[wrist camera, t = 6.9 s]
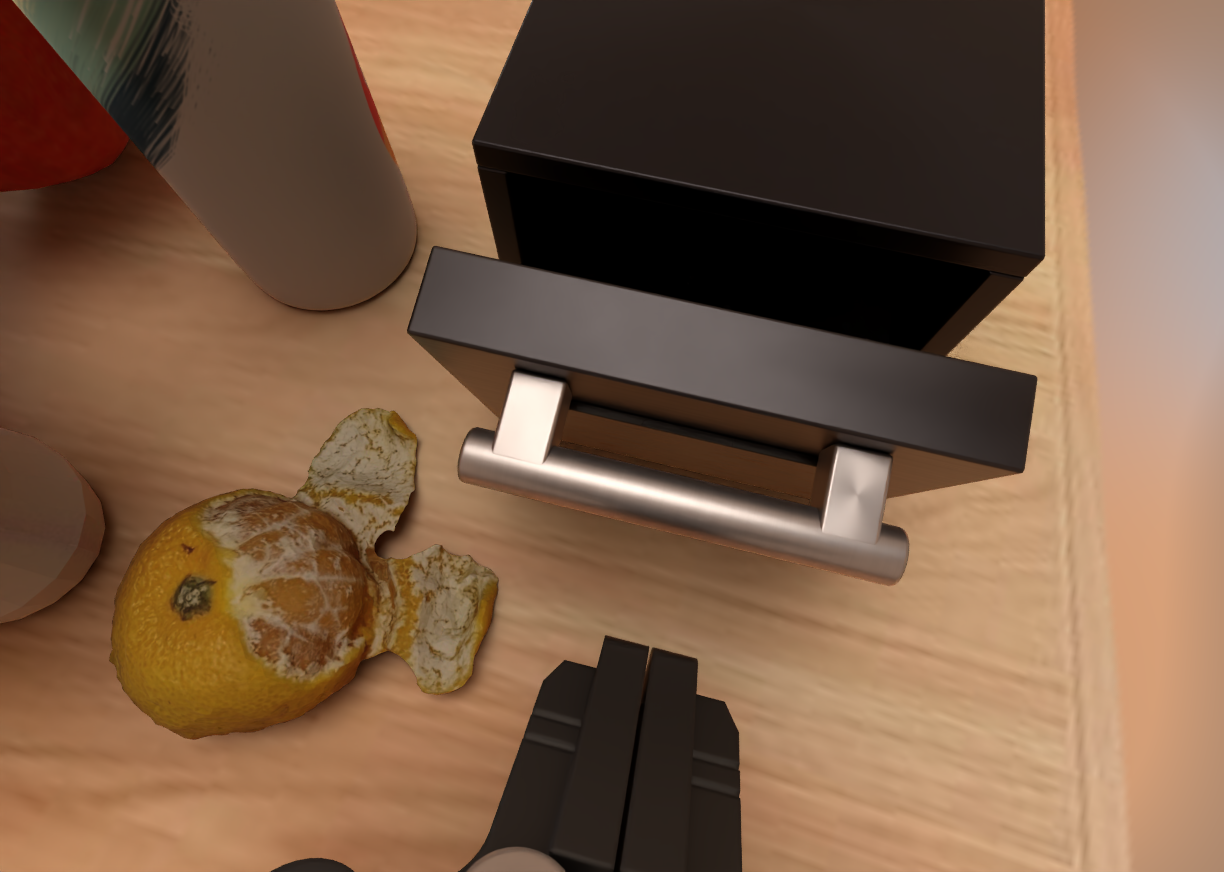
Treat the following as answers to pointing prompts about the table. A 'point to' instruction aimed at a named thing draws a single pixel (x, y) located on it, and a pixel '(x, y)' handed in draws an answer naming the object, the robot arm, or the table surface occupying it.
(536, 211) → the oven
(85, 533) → the decorative mushroom
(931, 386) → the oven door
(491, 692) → the table surface
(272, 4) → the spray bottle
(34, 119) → the apple
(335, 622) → the fruit
